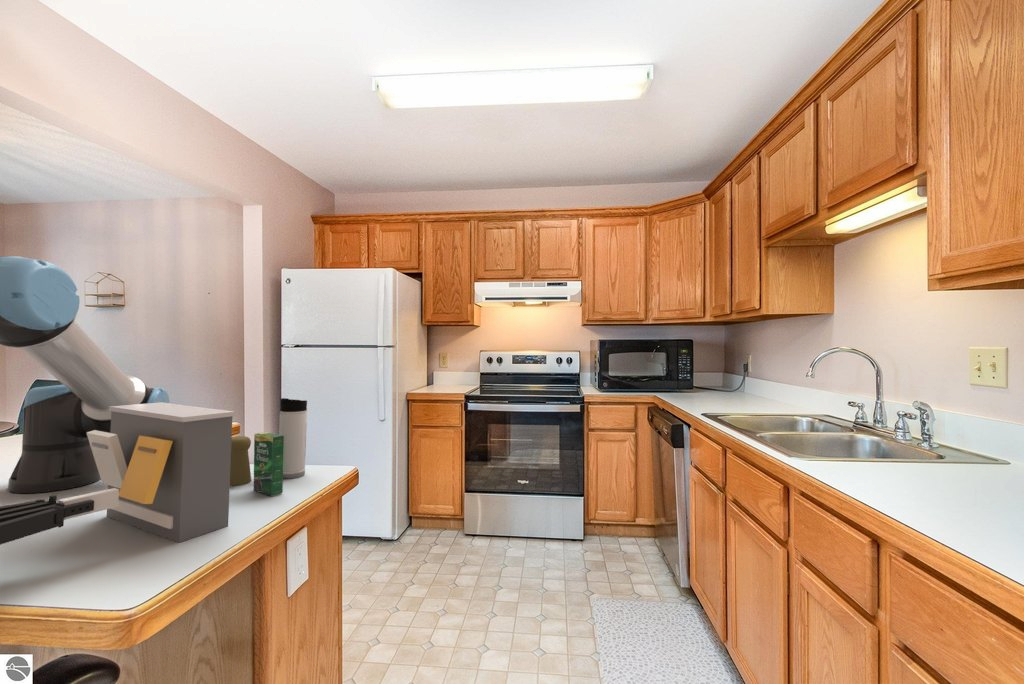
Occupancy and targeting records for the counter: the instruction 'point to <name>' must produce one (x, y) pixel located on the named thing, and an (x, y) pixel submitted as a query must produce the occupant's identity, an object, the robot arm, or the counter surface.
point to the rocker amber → (145, 469)
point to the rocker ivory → (108, 457)
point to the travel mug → (293, 436)
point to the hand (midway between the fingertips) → (116, 497)
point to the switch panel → (179, 468)
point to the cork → (240, 461)
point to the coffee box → (268, 463)
